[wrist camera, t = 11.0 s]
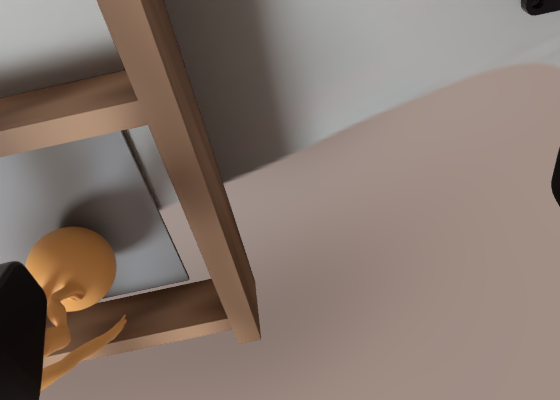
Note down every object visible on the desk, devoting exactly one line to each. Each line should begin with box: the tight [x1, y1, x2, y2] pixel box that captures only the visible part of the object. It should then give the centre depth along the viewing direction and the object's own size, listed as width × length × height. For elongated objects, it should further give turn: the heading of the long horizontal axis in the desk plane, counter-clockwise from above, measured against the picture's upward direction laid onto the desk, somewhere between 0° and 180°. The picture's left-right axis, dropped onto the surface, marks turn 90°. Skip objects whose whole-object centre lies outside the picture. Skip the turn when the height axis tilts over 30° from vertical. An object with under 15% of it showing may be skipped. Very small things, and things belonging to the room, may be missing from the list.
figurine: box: [25, 227, 127, 391], centre depth 19 cm, size 8×6×12 cm
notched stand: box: [0, 0, 261, 368], centre depth 18 cm, size 13×27×4 cm, turn 10°
